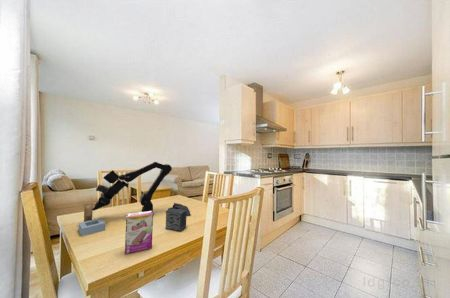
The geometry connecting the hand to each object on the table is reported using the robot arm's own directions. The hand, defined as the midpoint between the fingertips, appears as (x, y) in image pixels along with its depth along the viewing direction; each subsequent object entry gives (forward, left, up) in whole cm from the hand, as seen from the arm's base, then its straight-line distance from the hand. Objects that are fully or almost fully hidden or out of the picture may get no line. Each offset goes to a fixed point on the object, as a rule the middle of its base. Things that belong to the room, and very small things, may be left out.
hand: (94, 207), depth 106 cm
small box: (-52, 0, -10) cm, 53 cm away
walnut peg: (+2, +2, -10) cm, 10 cm away
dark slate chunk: (-44, -27, -10) cm, 53 cm away
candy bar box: (-43, +23, -10) cm, 49 cm away
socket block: (-6, +8, -10) cm, 14 cm away
